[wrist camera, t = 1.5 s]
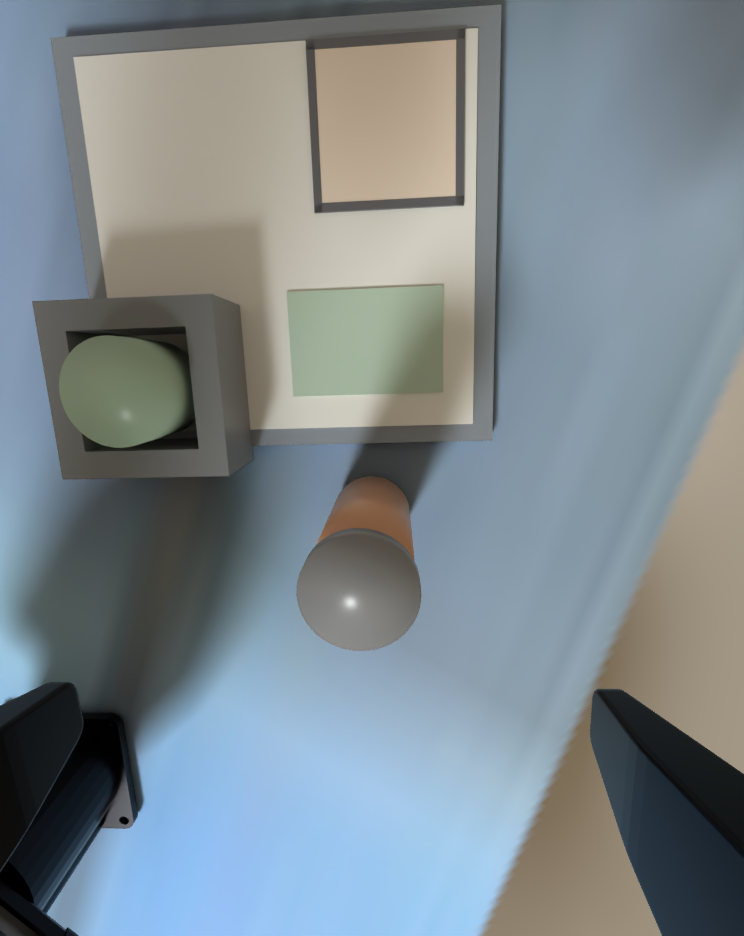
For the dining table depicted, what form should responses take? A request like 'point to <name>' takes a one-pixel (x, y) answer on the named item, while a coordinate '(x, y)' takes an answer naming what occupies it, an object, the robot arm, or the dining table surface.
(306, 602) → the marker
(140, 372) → the button
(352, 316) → the square board tray
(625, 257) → the dining table surface
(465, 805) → the dining table surface
